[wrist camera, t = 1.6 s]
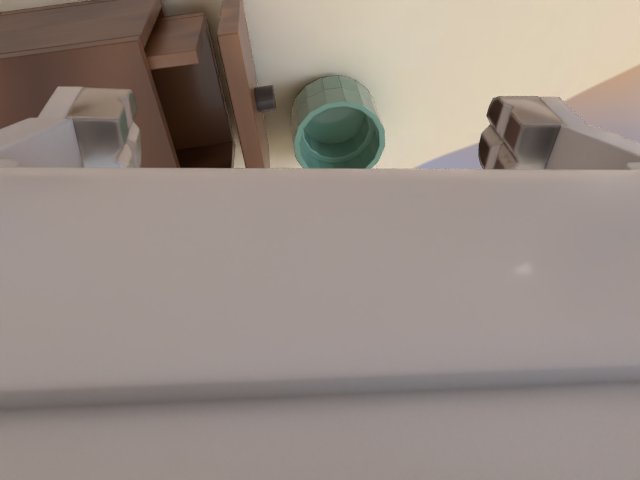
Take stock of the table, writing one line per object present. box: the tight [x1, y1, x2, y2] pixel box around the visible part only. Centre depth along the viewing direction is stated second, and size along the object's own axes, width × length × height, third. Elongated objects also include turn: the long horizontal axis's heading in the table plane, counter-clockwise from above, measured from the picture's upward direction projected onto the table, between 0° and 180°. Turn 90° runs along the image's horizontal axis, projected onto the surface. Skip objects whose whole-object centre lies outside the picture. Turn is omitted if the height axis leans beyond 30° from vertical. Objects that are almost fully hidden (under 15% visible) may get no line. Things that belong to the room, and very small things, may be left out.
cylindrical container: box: [291, 76, 385, 169], centre depth 41 cm, size 6×6×5 cm
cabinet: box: [0, 0, 180, 168], centre depth 37 cm, size 15×13×9 cm
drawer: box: [144, 0, 276, 168], centre depth 37 cm, size 15×11×7 cm
